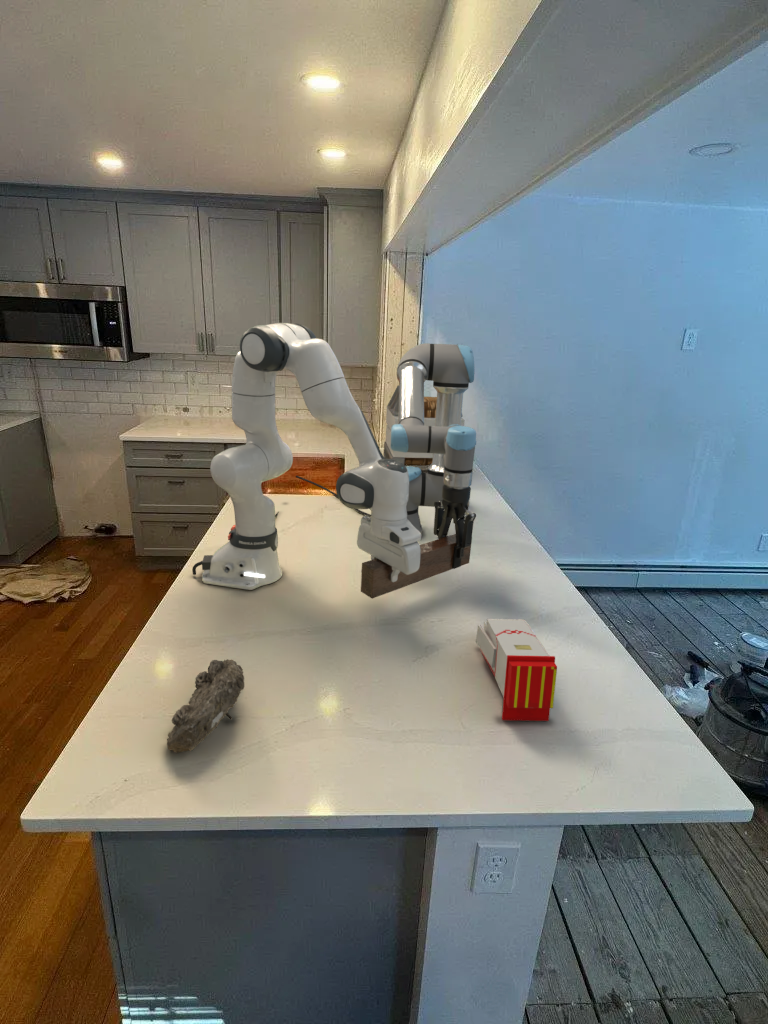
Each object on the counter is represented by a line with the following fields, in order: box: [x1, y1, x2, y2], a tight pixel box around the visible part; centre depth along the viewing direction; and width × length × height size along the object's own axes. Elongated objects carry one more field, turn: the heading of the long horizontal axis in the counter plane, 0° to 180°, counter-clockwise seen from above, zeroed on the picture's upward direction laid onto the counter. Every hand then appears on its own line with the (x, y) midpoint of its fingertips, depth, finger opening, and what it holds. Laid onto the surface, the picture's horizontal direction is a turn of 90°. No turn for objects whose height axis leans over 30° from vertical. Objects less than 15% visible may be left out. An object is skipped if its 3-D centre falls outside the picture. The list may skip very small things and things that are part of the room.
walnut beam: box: [360, 533, 473, 599], centre depth 151 cm, size 4×36×8 cm, turn 131°
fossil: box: [166, 658, 245, 754], centre depth 106 cm, size 22×10×15 cm
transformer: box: [383, 384, 465, 467], centre depth 268 cm, size 34×33×41 cm
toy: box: [475, 618, 558, 722], centre depth 122 cm, size 12×13×30 cm
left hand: (385, 576), depth 144 cm, fingers closed on walnut beam, 4 cm apart
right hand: (449, 563), depth 160 cm, fingers closed on walnut beam, 4 cm apart
